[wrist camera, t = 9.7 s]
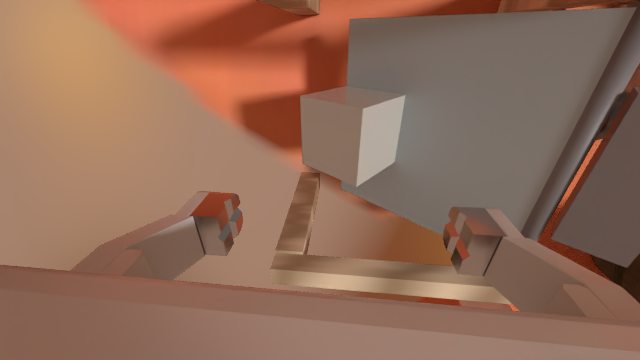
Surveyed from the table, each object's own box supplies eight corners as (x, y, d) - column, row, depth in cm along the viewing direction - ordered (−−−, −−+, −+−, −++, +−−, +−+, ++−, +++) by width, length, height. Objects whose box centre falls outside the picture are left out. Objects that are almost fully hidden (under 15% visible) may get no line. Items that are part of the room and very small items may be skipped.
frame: (534, -19, 19) (837, -105, 7) (462, 195, 28) (542, 309, 17) (294, -16, 20) (221, -82, 9) (302, 187, 30) (272, 285, 18)
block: (405, 94, 17) (363, 108, 14) (394, 162, 20) (356, 186, 16) (346, 86, 20) (300, 95, 17) (343, 145, 22) (302, 163, 19)
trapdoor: (826, -4, 8) (871, -12, 7) (592, 285, 16) (592, 308, 14) (366, 16, 19) (349, 15, 18) (353, 183, 26) (340, 191, 25)
